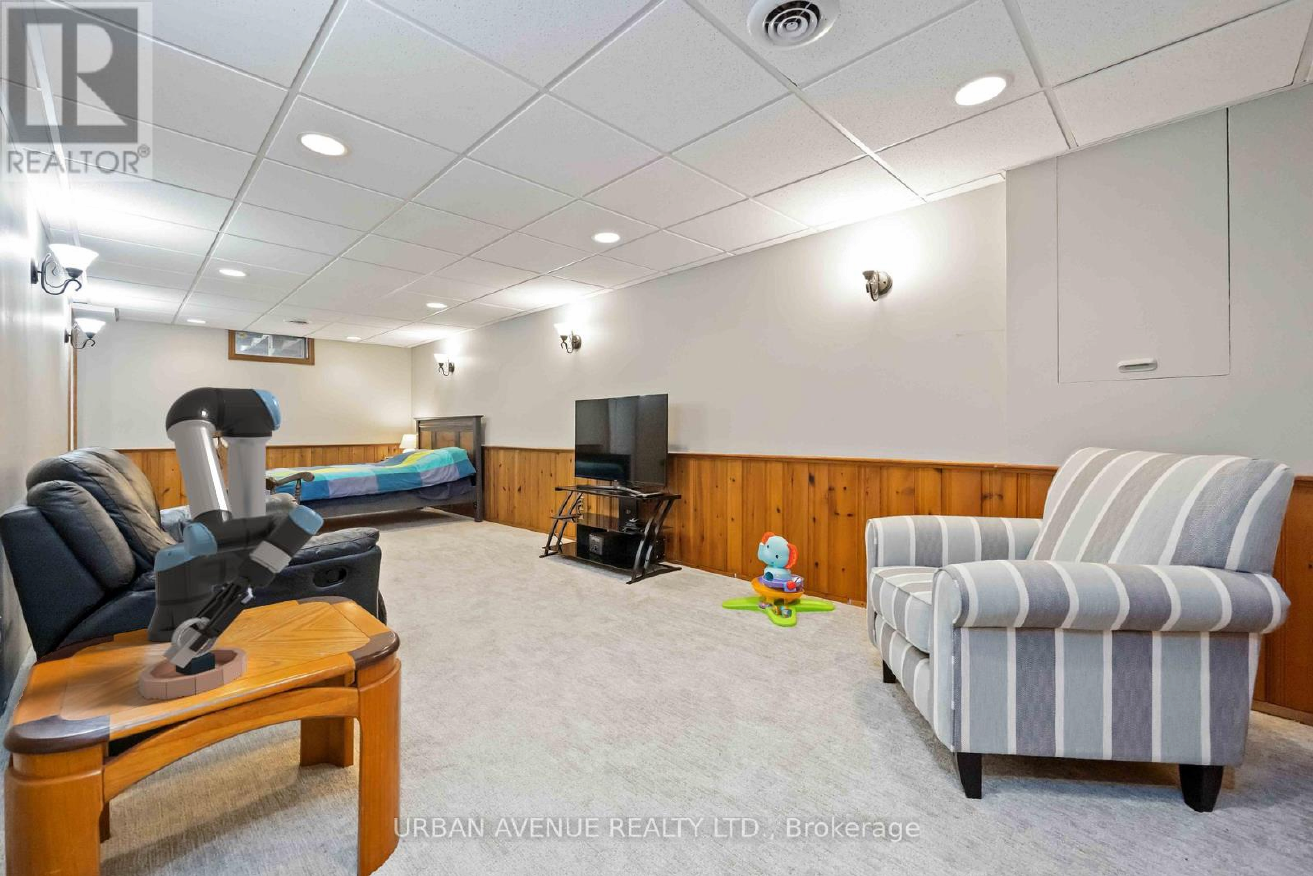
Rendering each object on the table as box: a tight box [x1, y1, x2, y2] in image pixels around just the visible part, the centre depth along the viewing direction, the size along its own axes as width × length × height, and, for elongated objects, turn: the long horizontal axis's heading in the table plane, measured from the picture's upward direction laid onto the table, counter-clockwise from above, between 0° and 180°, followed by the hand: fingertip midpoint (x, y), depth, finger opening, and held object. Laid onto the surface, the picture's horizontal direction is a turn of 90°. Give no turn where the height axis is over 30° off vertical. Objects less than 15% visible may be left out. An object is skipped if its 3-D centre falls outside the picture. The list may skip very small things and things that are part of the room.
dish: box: [138, 646, 248, 700], centre depth 117 cm, size 17×17×4 cm
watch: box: [170, 617, 220, 676], centre depth 117 cm, size 6×8×11 cm
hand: (172, 661), depth 114 cm, fingers closed on watch, 5 cm apart
